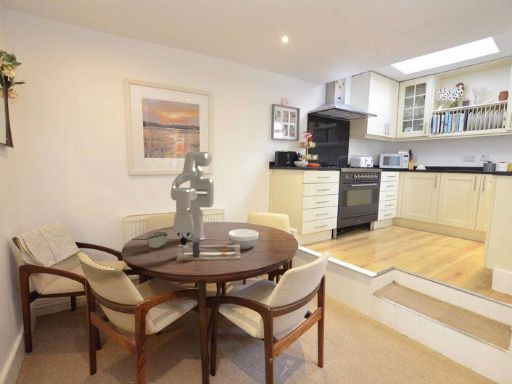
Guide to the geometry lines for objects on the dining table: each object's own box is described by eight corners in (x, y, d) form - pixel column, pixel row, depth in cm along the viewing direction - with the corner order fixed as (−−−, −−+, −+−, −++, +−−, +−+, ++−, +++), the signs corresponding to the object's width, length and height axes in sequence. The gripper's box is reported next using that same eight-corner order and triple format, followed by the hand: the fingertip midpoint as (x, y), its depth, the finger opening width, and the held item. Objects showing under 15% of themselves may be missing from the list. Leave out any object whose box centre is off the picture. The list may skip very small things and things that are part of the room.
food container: (163, 246, 156) (163, 230, 155) (168, 248, 152) (167, 232, 151) (143, 250, 147) (142, 234, 146) (147, 253, 143) (147, 236, 142)
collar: (194, 252, 142) (194, 238, 141) (200, 252, 142) (200, 238, 141) (193, 257, 134) (192, 242, 134) (198, 256, 135) (198, 242, 134)
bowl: (223, 248, 153) (223, 234, 153) (236, 240, 171) (236, 227, 170) (251, 252, 147) (251, 238, 146) (262, 243, 164) (262, 230, 163)
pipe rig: (180, 254, 142) (179, 243, 141) (239, 253, 145) (239, 242, 144) (176, 260, 133) (176, 249, 132) (240, 259, 136) (240, 247, 136)
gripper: (198, 210, 139) (198, 242, 141) (170, 210, 138) (171, 242, 140) (196, 213, 132) (196, 246, 134) (167, 213, 130) (168, 247, 132)
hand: (183, 244), depth 137 cm, fingers closed
